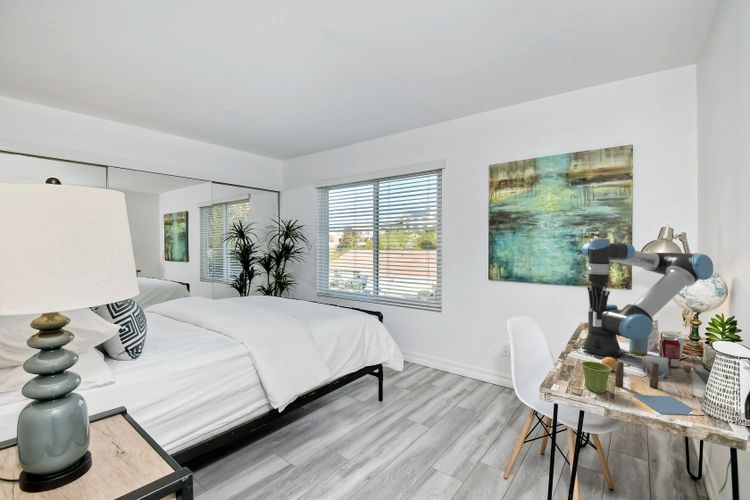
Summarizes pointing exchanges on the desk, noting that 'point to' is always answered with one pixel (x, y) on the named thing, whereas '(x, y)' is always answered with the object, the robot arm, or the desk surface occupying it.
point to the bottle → (639, 346)
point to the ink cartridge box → (653, 337)
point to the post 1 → (619, 374)
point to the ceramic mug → (662, 366)
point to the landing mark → (665, 404)
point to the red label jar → (680, 340)
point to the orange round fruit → (609, 362)
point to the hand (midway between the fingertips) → (597, 326)
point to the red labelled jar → (670, 350)
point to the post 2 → (654, 375)
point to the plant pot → (596, 375)
